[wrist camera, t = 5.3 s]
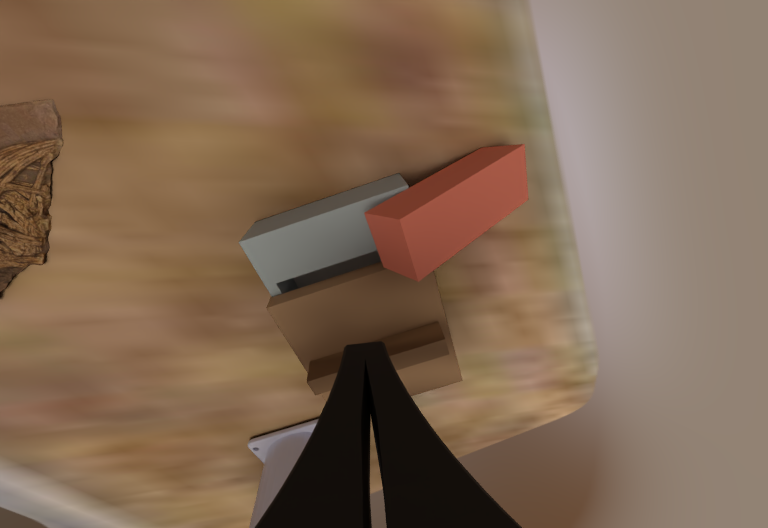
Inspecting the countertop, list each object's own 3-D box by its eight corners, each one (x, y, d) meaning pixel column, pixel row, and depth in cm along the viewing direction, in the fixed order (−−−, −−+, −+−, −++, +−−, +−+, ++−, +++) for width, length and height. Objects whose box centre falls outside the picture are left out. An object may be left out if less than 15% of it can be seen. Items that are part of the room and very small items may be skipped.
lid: (457, 368, 21) (470, 399, 19) (337, 405, 21) (335, 439, 19) (425, 247, 16) (437, 269, 14) (270, 297, 17) (258, 326, 14)
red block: (488, 196, 18) (528, 199, 16) (383, 267, 15) (418, 281, 13) (481, 147, 17) (524, 144, 15) (363, 212, 13) (399, 219, 11)
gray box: (446, 342, 24) (458, 372, 21) (340, 375, 24) (339, 407, 22) (398, 173, 17) (407, 184, 15) (255, 222, 18) (238, 242, 15)
